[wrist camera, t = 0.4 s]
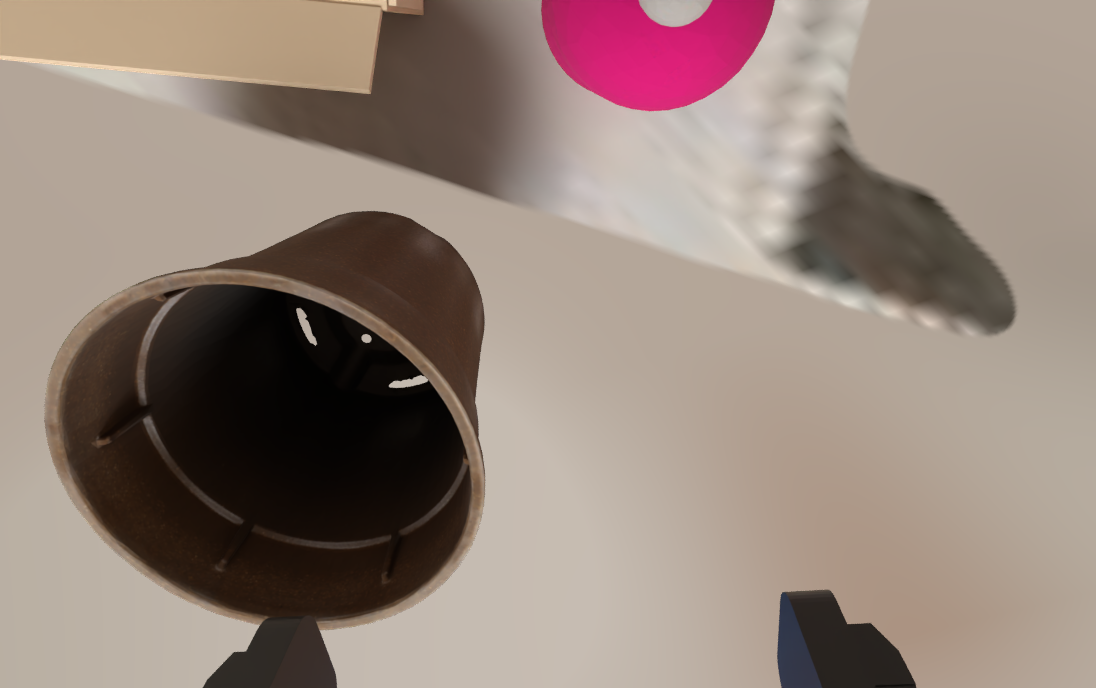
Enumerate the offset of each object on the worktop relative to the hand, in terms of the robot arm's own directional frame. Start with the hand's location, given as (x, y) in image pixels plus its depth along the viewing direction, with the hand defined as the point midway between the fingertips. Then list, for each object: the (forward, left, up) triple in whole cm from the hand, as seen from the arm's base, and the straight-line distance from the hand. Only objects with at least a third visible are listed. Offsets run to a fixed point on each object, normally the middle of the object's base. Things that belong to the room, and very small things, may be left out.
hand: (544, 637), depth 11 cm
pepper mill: (-11, +2, -28) cm, 30 cm away
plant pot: (+6, -10, -28) cm, 30 cm away
